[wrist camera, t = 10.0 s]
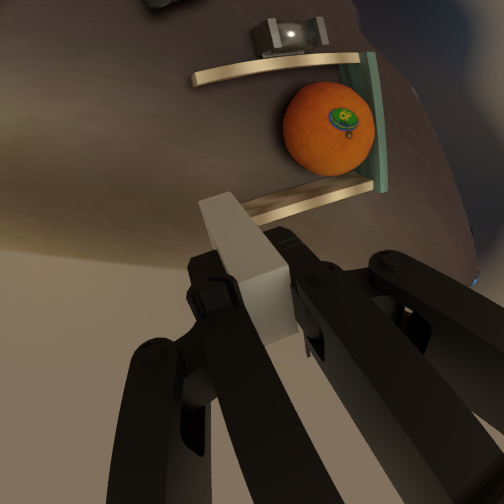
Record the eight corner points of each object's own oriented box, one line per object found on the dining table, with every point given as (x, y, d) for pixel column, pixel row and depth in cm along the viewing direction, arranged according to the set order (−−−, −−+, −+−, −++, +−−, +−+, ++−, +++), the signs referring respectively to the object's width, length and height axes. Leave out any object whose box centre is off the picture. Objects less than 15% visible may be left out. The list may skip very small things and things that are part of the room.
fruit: (350, 157, 36) (390, 173, 29) (280, 175, 34) (310, 194, 28) (341, 79, 30) (382, 79, 24) (263, 88, 29) (293, 85, 22)
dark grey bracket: (256, 59, 27) (275, 51, 22) (249, 28, 25) (266, 15, 20) (305, 54, 28) (329, 47, 23) (298, 24, 25) (321, 13, 21)
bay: (227, 217, 35) (240, 239, 30) (190, 77, 26) (196, 70, 21) (360, 177, 38) (387, 190, 33) (344, 55, 29) (374, 52, 24)
